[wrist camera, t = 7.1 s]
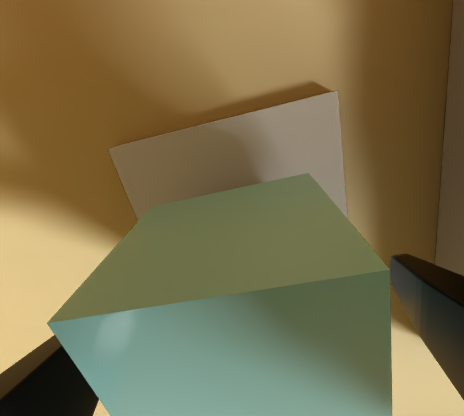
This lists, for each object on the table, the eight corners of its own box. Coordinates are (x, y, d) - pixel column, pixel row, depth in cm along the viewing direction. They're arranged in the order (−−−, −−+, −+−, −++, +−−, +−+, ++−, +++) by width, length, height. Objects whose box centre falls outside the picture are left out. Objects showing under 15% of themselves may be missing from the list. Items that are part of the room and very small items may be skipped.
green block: (315, 274, 12) (393, 473, 6) (202, 293, 13) (158, 485, 6) (298, 160, 10) (390, 270, 4) (165, 190, 11) (47, 322, 4)
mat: (350, 297, 13) (354, 305, 13) (185, 320, 15) (183, 329, 14) (332, 91, 10) (337, 90, 9) (114, 146, 11) (107, 148, 10)
